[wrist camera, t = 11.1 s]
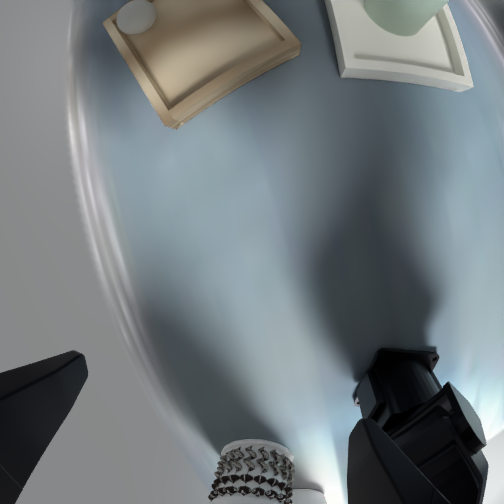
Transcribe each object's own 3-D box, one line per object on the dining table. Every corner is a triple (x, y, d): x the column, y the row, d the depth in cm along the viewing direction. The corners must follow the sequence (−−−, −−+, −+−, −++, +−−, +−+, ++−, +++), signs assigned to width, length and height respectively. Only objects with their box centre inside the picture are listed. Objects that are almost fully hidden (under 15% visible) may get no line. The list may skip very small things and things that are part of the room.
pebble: (167, 7, 14) (151, -10, 12) (157, 38, 15) (139, 22, 12) (134, 12, 15) (116, -3, 12) (124, 42, 15) (104, 29, 13)
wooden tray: (299, 54, 15) (300, 43, 14) (176, 129, 18) (164, 125, 16) (214, -34, 13) (208, -47, 12) (114, 31, 16) (102, 23, 14)
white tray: (460, 92, 14) (473, 87, 12) (340, 77, 16) (345, 67, 14) (422, -21, 11) (430, -32, 9) (312, -38, 12) (314, -52, 11)
